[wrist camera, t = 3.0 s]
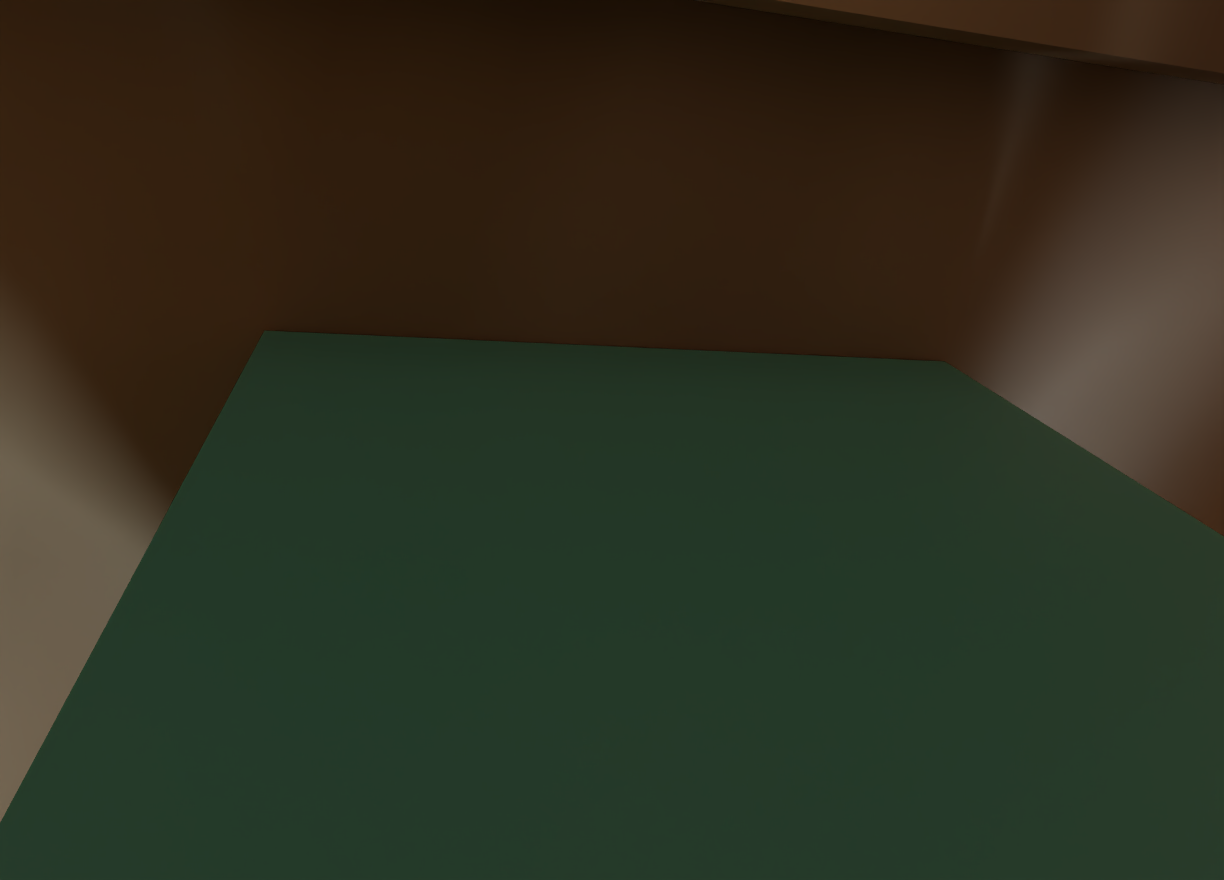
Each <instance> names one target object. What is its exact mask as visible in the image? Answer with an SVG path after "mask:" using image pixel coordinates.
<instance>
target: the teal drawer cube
mask: <svg viewBox="0 0 1224 880" xmlns="http://www.w3.org/2000/svg"><path fill="white" fill-rule="evenodd" d="M0 880H1224V536H1222V535H1221V534H1219V533H1217V532H1216V531H1214V530H1213V529H1211V528H1210V527H1208V526H1206V525H1205V524H1203V523H1202V522H1200V521H1198V520H1197V519H1195V518H1194V517H1192V516H1190V515H1189V514H1187V513H1186V512H1184V511H1182V510H1181V509H1179V508H1178V507H1176V506H1174V505H1173V504H1171V503H1170V502H1168V501H1166V500H1165V499H1163V498H1162V497H1160V496H1158V495H1157V494H1155V493H1154V492H1152V491H1150V490H1149V489H1147V488H1146V487H1144V486H1142V485H1141V484H1139V483H1138V482H1136V481H1135V480H1133V479H1131V478H1130V477H1128V476H1127V475H1125V474H1123V473H1122V472H1120V471H1119V470H1117V469H1115V468H1114V467H1112V466H1111V465H1109V464H1107V463H1106V462H1104V461H1103V460H1101V459H1099V458H1098V457H1096V456H1095V455H1093V454H1091V453H1090V452H1088V451H1087V450H1085V449H1083V448H1082V447H1080V446H1079V445H1077V444H1075V443H1074V442H1072V441H1071V440H1069V439H1068V438H1066V437H1064V436H1063V435H1061V434H1060V433H1058V432H1056V431H1055V430H1053V429H1052V428H1050V427H1048V426H1047V425H1045V424H1044V423H1042V422H1040V421H1039V420H1037V419H1036V418H1034V417H1032V416H1031V415H1029V414H1028V413H1026V412H1024V411H1023V410H1021V409H1020V408H1018V407H1016V406H1015V405H1013V404H1012V403H1010V402H1008V401H1007V400H1005V399H1004V398H1002V397H1001V396H999V395H997V394H996V393H994V392H993V391H991V390H989V389H988V388H986V387H985V386H983V385H981V384H980V383H978V382H977V381H975V380H973V379H972V378H970V377H969V376H967V375H965V374H964V373H962V372H961V371H959V370H957V369H956V368H954V367H953V366H951V365H949V364H948V363H946V362H945V361H923V360H901V359H879V358H857V357H835V356H813V355H791V354H769V353H747V352H725V351H703V350H681V349H659V348H636V347H614V346H592V345H570V344H548V343H526V342H504V341H482V340H460V339H438V338H416V337H394V336H372V335H350V334H327V333H305V332H283V331H264V332H263V334H262V336H261V338H260V340H259V342H258V343H257V345H256V347H255V349H254V351H253V353H252V355H251V356H250V358H249V360H248V362H247V364H246V366H245V368H244V370H243V371H242V373H241V375H240V377H239V379H238V381H237V383H236V384H235V386H234V388H233V390H232V392H231V394H230V396H229V397H228V399H227V401H226V403H225V405H224V407H223V409H222V411H221V412H220V414H219V416H218V418H217V420H216V422H215V424H214V425H213V427H212V429H211V431H210V433H209V435H208V437H207V438H206V440H205V442H204V444H203V446H202V448H201V450H200V452H199V453H198V455H197V457H196V459H195V461H194V463H193V465H192V466H191V468H190V470H189V472H188V474H187V476H186V478H185V479H184V481H183V483H182V485H181V487H180V489H179V491H178V493H177V494H176V496H175V498H174V500H173V502H172V504H171V506H170V507H169V509H168V511H167V513H166V515H165V517H164V519H163V521H162V522H161V524H160V526H159V528H158V530H157V532H156V534H155V535H154V537H153V539H152V541H151V543H150V545H149V547H148V548H147V550H146V552H145V554H144V556H143V558H142V560H141V562H140V563H139V565H138V567H137V569H136V571H135V573H134V575H133V576H132V578H131V580H130V582H129V584H128V586H127V588H126V589H125V591H124V593H123V595H122V597H121V599H120V601H119V603H118V604H117V606H116V608H115V610H114V612H113V614H112V616H111V617H110V619H109V621H108V623H107V625H106V627H105V629H104V630H103V632H102V634H101V636H100V638H99V640H98V642H97V644H96V645H95V647H94V649H93V651H92V653H91V655H90V657H89V658H88V660H87V662H86V664H85V666H84V668H83V670H82V671H81V673H80V675H79V677H78V679H77V681H76V683H75V685H74V686H73V688H72V690H71V692H70V694H69V696H68V698H67V699H66V701H65V703H64V705H63V707H62V709H61V711H60V712H59V714H58V716H57V718H56V720H55V722H54V724H53V726H52V727H51V729H50V731H49V733H48V735H47V737H46V739H45V740H44V742H43V744H42V746H41V748H40V750H39V752H38V753H37V755H36V757H35V759H34V761H33V763H32V765H31V767H30V768H29V770H28V772H27V774H26V776H25V778H24V780H23V781H22V783H21V785H20V787H19V789H18V791H17V793H16V794H15V796H14V798H13V800H12V802H11V804H10V806H9V808H8V809H7V811H6V813H5V815H4V817H3V819H2V821H1V822H0Z"/></svg>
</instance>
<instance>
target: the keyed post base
mask: <svg viewBox="0 0 1224 880" xmlns="http://www.w3.org/2000/svg"><path fill="white" fill-rule="evenodd" d="M695 1H702V2H708V3H714V4H721V5H727V6H733V7H739V8H746V9H752V10H758V11H765V12H771V13H777V14H783V15H790V16H796V17H802V18H809V19H815V20H821V21H828V22H834V23H840V24H846V25H853V26H859V27H865V28H872V29H878V30H884V31H891V32H897V33H903V34H909V35H916V36H922V37H928V38H935V39H941V40H947V41H954V42H960V43H966V44H972V45H979V46H985V47H991V48H998V49H1004V50H1010V51H1017V52H1023V53H1029V54H1035V55H1042V56H1048V57H1054V58H1061V59H1067V60H1073V61H1079V62H1086V63H1092V64H1098V65H1105V66H1111V67H1117V68H1124V69H1130V70H1136V71H1142V72H1149V73H1155V74H1161V75H1168V76H1174V77H1180V78H1187V79H1193V80H1199V81H1205V82H1212V83H1218V84H1224V0H695Z"/></svg>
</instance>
